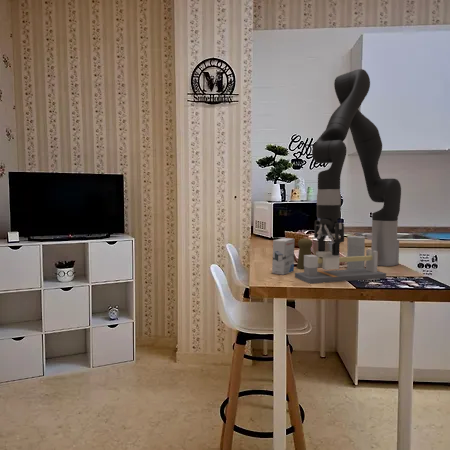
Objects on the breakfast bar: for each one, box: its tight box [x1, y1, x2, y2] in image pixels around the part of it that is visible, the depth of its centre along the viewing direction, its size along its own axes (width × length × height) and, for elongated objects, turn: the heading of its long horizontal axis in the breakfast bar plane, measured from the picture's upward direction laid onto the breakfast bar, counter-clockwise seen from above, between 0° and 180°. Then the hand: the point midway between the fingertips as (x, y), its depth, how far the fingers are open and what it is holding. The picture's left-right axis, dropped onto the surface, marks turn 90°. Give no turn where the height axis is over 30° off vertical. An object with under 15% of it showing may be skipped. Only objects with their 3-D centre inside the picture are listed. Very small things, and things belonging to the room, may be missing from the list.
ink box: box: [271, 237, 295, 276], centre depth 145 cm, size 9×5×12 cm, turn 148°
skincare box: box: [346, 235, 366, 270], centre depth 151 cm, size 6×4×12 cm
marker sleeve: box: [315, 250, 341, 271], centre depth 134 cm, size 5×6×5 cm
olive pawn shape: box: [296, 238, 313, 271], centre depth 153 cm, size 6×6×11 cm
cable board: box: [294, 249, 387, 284], centre depth 136 cm, size 28×10×8 cm, turn 107°
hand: (328, 253), depth 134 cm, fingers open, 8 cm apart
